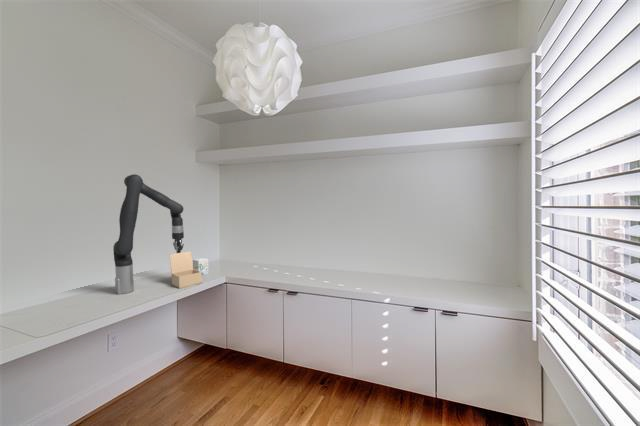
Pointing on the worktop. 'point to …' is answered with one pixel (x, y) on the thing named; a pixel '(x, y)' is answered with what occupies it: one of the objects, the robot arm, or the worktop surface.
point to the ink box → (201, 265)
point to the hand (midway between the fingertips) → (178, 256)
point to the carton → (186, 278)
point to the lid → (181, 262)
